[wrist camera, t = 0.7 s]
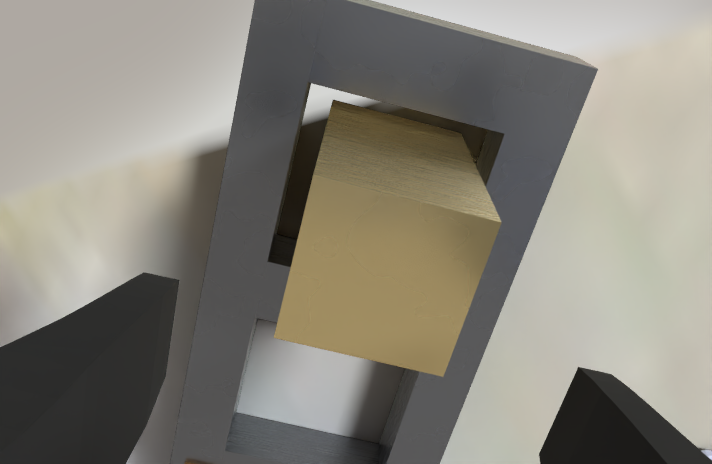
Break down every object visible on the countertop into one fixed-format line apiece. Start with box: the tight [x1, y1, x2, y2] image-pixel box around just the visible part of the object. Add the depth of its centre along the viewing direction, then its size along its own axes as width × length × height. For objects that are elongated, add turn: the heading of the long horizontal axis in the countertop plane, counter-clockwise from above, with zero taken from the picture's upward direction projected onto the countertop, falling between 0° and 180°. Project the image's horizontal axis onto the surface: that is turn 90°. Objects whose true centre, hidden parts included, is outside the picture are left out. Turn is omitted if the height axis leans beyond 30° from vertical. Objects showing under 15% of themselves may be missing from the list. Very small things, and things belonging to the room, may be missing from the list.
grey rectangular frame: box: [170, 0, 598, 464], centre depth 22 cm, size 9×25×2 cm, turn 166°
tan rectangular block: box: [274, 100, 502, 377], centre depth 17 cm, size 4×4×7 cm
